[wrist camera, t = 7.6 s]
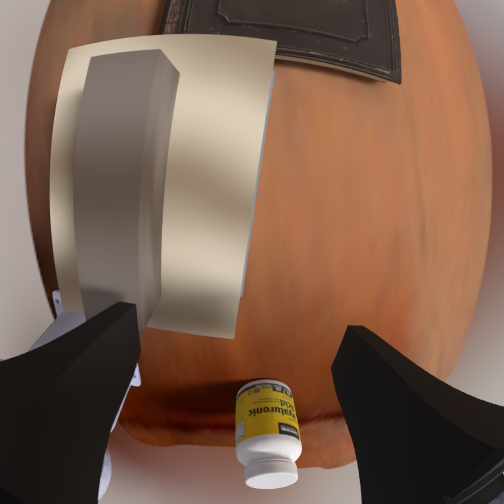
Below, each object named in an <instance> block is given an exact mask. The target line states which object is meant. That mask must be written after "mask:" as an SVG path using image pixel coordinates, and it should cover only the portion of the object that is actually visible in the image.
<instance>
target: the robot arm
mask: <svg viewBox="0 0 504 504" xmlns="http://www.w3.org/2000/svg"><path fill="white" fill-rule="evenodd" d="M52 295H53V300H54V305H55V309H56V313H57V318H56V319H55V321H54V322H53V323H52V324H51V325H50V326H49V327H48V328H47V330H46V331H45V332H44V333H43V334H42V335H41V336H40V338H39V339H38V340H37V341H36V342H35V344H34V345H33V346H32V347H31V349H30V350H29V351H28V352H26V353H24V354H21V355H19V356H16V357H13V358H10V359H7V360H2V359H0V504H98V500H99V499H100V498H101V497H102V496H103V494H104V492H105V491H106V489H107V487H108V484H109V481H110V477H111V460H110V455H109V452H108V450H107V444H108V439H109V435H110V433H111V432H112V430H113V429H114V427H115V425H116V422H117V419H118V416H119V414H120V411H121V408H122V405H123V403H124V400H125V398H126V395H127V392H128V390H129V387H130V385H134V386H140V384H141V379H140V374H139V368H138V359H139V356H140V352H141V347H140V339H139V330H138V320H137V308H136V304H133V303H127V302H122V301H119V302H117V303H115V304H113V305H112V306H110V307H108V308H107V309H105V310H103V311H102V312H100V313H99V314H97V315H95V316H94V317H92V318H90V319H89V320H87V321H86V318H85V314H83V313H79V312H75V311H71V310H68V309H64V308H63V307H62V302H61V297H60V292H59V290H55V291H53V293H52ZM58 300H59V301H58ZM331 370H332V376H333V382H334V386H335V391H336V394H337V397H338V400H339V403H340V406H341V409H342V412H343V415H344V418H345V420H346V423H347V426H348V429H349V432H350V435H351V438H352V441H353V445H354V449H355V453H356V459H357V464H358V470H359V478H360V485H361V497H362V504H504V474H503V472H504V407H503V406H499V405H496V404H493V403H489V402H486V401H484V400H480V399H478V398H476V397H473V396H471V395H468V394H466V393H464V392H462V391H460V390H457V389H456V388H454V387H451V386H450V385H448V384H446V383H445V382H443V381H441V380H439V379H438V378H436V377H434V376H433V375H431V374H430V373H428V372H427V371H425V370H424V369H422V368H421V367H419V366H418V365H416V364H415V363H413V362H412V361H411V360H409V359H408V358H407V357H405V356H404V355H403V354H401V353H400V352H399V351H397V350H396V349H395V348H393V347H392V346H391V345H389V344H388V343H387V342H385V341H384V340H383V339H381V338H380V337H379V336H377V335H376V334H375V333H373V332H372V331H370V330H369V329H367V328H366V327H364V326H353V325H348V326H347V329H346V332H345V334H344V337H343V340H342V342H341V345H340V347H339V350H338V352H337V355H336V357H335V360H334V362H333V364H332V367H331Z"/></svg>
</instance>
